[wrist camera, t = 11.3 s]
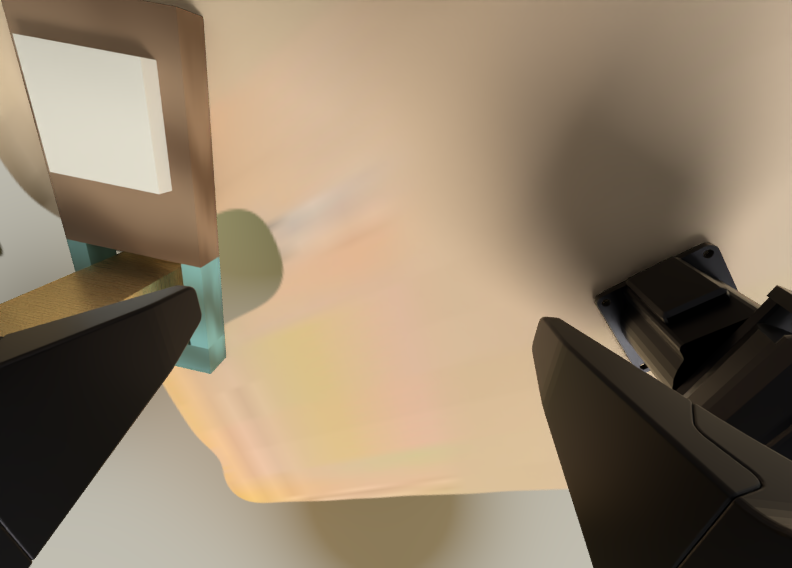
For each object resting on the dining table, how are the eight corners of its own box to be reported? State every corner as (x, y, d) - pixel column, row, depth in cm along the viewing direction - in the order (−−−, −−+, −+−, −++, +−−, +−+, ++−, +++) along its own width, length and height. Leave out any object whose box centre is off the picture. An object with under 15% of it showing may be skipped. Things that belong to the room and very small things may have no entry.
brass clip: (188, 262, 25) (14, 362, 15) (193, 315, 26) (43, 434, 17) (128, 249, 25) (-83, 339, 15) (138, 303, 27) (-42, 413, 17)
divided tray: (225, 357, 28) (202, 383, 25) (118, 332, 28) (84, 355, 26) (203, 17, 18) (159, 0, 15) (38, -13, 18) (-32, -34, 16)
